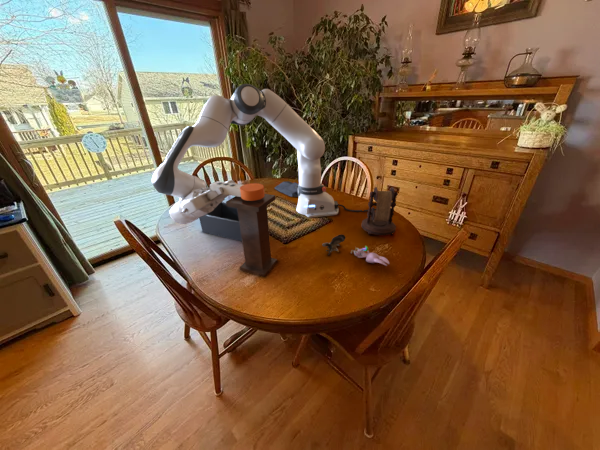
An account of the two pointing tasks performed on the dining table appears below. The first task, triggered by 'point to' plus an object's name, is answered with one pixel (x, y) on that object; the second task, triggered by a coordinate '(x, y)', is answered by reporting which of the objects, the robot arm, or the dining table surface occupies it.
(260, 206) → the stand
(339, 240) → the grey animal figurine
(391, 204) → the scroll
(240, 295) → the dining table surface
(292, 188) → the dark slate chunk
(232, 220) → the compartment
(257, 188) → the extension cord
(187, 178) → the robot arm
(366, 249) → the rabbit figure
